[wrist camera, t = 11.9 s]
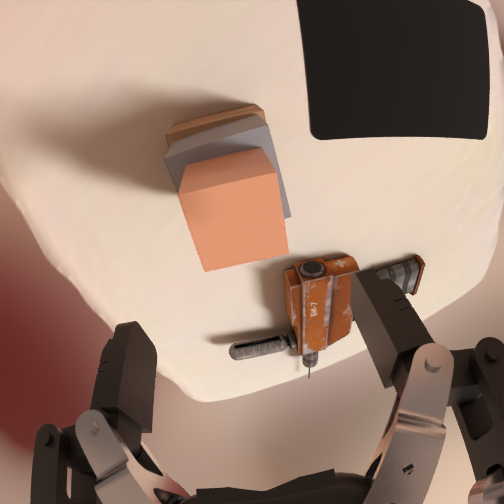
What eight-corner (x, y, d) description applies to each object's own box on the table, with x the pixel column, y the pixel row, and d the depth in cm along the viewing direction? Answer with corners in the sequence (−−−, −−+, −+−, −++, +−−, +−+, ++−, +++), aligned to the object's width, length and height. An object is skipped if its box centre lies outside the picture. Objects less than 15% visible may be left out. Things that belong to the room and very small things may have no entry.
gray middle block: (173, 141, 22) (163, 158, 18) (257, 114, 21) (268, 125, 17) (202, 213, 26) (200, 244, 22) (278, 190, 25) (291, 216, 21)
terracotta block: (186, 164, 18) (177, 195, 14) (261, 147, 18) (276, 172, 14) (205, 228, 21) (204, 272, 17) (273, 213, 21) (289, 253, 17)
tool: (433, 248, 34) (209, 300, 33) (393, 359, 50) (244, 402, 48) (417, 232, 38) (207, 277, 36) (385, 344, 54) (241, 383, 52)
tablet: (484, 8, 17) (486, 140, 28) (481, 8, 17) (483, 138, 29) (290, -41, 16) (311, 141, 28) (288, -38, 17) (309, 139, 28)
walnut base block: (173, 124, 25) (165, 135, 21) (255, 104, 25) (263, 110, 21) (195, 196, 30) (193, 218, 26) (270, 178, 30) (280, 197, 26)
